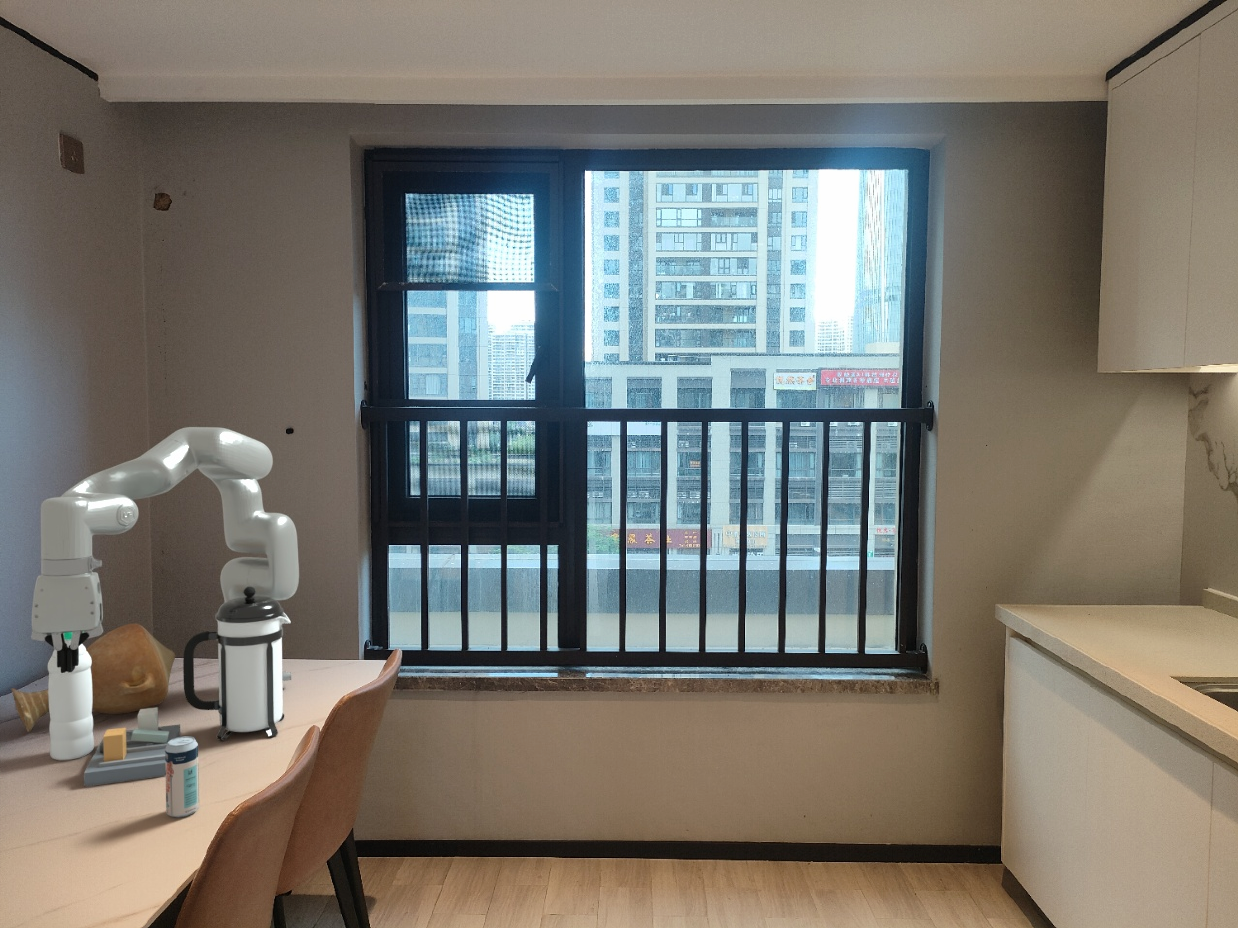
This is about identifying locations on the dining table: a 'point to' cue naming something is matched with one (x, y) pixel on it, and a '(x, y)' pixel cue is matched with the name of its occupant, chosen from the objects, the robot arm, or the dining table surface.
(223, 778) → the dining table surface
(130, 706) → the jug
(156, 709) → the ivory fader
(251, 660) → the coffee press
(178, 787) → the beer can
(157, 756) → the panel
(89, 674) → the water bottle
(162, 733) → the block
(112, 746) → the orange fader
